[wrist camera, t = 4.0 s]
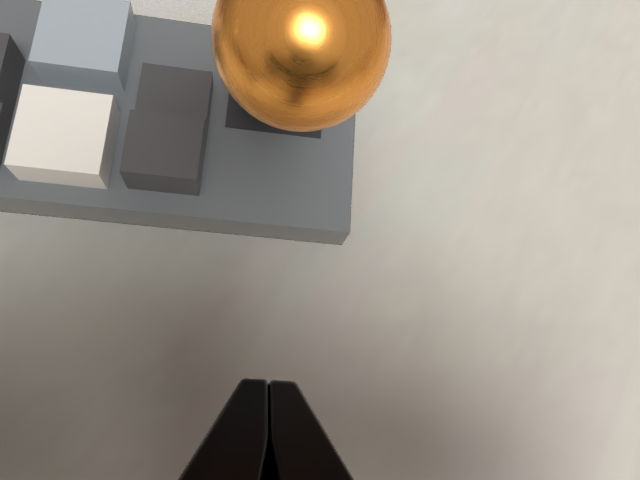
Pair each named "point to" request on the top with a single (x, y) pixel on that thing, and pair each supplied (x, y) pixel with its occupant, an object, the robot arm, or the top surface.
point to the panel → (152, 131)
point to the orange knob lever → (301, 58)
